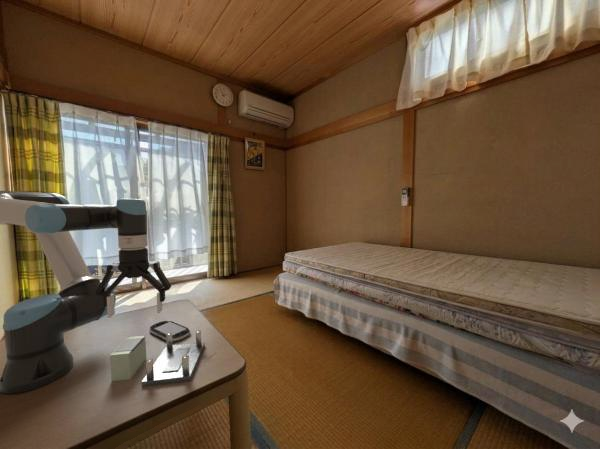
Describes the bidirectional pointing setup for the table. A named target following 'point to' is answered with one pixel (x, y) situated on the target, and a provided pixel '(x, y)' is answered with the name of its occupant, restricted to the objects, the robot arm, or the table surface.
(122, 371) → the pale green block
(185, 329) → the gaming console
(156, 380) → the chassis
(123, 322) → the table surface
